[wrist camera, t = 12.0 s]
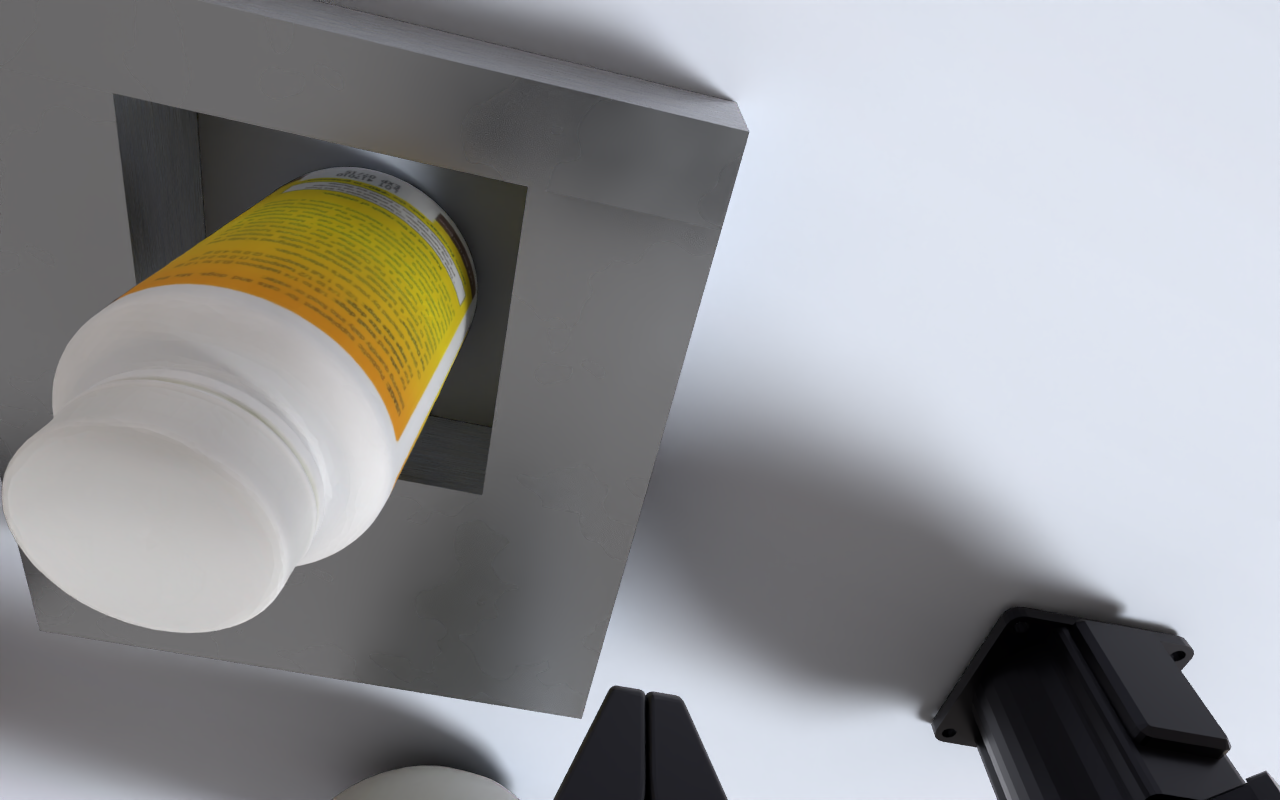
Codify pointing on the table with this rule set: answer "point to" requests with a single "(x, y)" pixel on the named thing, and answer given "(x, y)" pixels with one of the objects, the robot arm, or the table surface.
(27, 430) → the jig block
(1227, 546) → the table surface
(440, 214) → the supplement bottle
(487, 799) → the gray bottle
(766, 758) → the table surface
